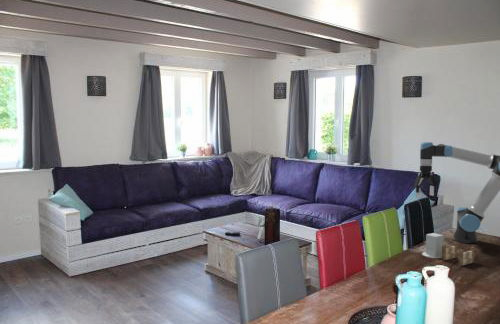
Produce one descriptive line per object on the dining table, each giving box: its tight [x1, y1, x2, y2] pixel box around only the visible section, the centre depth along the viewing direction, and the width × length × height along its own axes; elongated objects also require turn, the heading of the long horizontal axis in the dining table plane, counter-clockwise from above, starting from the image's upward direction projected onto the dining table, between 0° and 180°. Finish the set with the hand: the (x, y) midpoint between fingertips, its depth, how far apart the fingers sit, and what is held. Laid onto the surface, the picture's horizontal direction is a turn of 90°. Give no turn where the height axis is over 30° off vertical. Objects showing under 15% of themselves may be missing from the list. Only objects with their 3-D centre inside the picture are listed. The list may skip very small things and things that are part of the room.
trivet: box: [421, 251, 442, 259], centre depth 271 cm, size 12×12×1 cm
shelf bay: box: [441, 241, 475, 267], centre depth 259 cm, size 12×13×9 cm
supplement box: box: [425, 232, 444, 257], centre depth 270 cm, size 7×7×13 cm
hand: (425, 196), depth 297 cm, fingers open, 13 cm apart
